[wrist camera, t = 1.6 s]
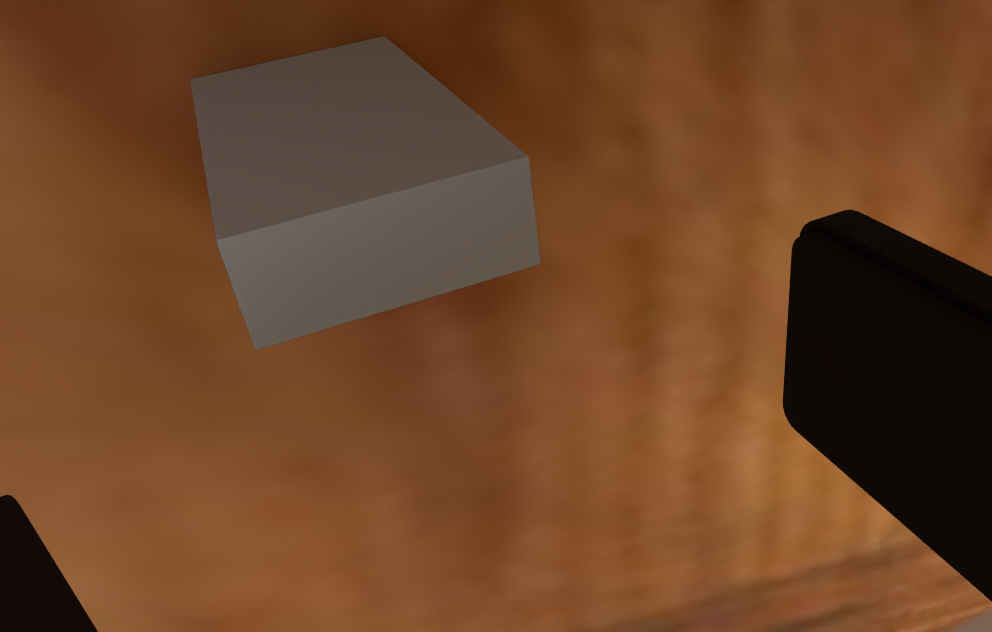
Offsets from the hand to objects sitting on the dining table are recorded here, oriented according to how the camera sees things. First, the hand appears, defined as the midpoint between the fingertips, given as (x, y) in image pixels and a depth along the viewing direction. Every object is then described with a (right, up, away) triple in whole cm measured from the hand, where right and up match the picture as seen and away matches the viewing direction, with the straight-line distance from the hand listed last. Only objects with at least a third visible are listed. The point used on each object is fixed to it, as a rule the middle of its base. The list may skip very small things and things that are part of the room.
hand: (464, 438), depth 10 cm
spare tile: (-5, +7, +12) cm, 14 cm away
